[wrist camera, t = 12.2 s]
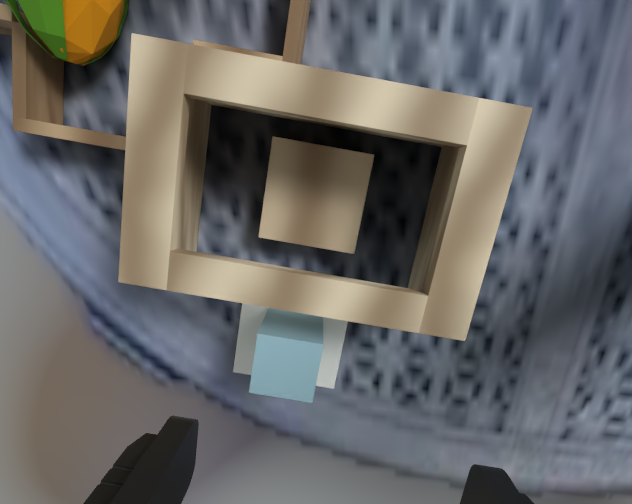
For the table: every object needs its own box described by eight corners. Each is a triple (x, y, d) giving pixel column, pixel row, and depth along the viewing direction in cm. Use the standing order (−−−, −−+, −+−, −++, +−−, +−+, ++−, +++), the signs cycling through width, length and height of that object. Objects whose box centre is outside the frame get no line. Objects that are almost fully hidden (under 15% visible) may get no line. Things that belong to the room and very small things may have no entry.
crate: (456, 137, 27) (532, 108, 17) (417, 291, 30) (465, 341, 20) (200, 90, 27) (131, 33, 17) (185, 250, 29) (118, 282, 20)
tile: (352, 290, 30) (353, 293, 29) (333, 383, 32) (333, 388, 31) (248, 272, 30) (246, 274, 29) (235, 367, 32) (232, 372, 31)
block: (322, 313, 30) (323, 344, 24) (313, 361, 31) (312, 402, 25) (269, 304, 30) (257, 333, 24) (262, 353, 30) (248, 392, 25)
